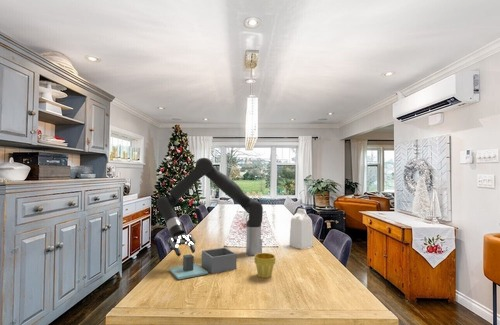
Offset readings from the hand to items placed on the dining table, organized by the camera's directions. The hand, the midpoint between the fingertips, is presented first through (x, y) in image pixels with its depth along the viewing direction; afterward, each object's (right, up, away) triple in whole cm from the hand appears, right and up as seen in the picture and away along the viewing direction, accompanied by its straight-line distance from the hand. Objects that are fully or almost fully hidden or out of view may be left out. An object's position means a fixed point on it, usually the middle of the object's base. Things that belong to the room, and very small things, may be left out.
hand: (186, 253), depth 140 cm
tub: (+15, -10, +7) cm, 20 cm away
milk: (+68, -13, +53) cm, 88 cm away
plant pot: (+40, -10, -4) cm, 41 cm away
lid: (+1, -9, -1) cm, 9 cm away
